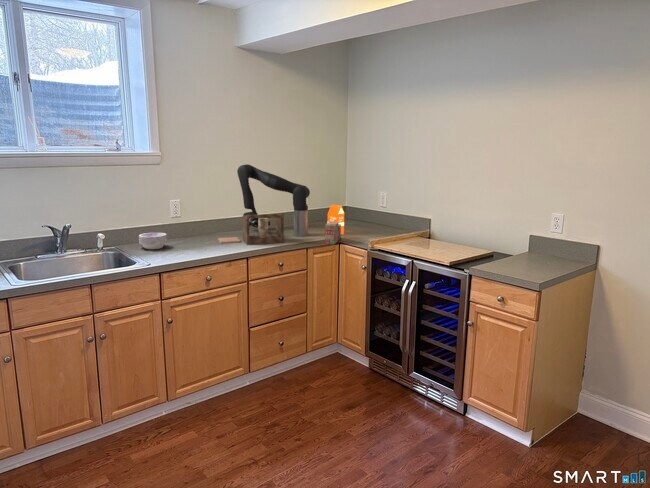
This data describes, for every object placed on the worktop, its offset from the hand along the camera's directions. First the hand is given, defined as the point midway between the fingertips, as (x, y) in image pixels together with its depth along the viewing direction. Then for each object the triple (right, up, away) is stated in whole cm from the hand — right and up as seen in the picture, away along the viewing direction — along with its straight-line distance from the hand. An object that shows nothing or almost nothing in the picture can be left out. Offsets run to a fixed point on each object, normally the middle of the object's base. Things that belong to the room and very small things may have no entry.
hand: (261, 225), depth 307 cm
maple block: (+2, -8, -4) cm, 8 cm away
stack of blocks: (+46, -10, +6) cm, 47 cm away
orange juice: (+48, -5, +28) cm, 55 cm away
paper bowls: (-59, -14, -26) cm, 66 cm away
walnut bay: (+2, -11, -3) cm, 11 cm away
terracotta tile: (-20, -10, -3) cm, 22 cm away
